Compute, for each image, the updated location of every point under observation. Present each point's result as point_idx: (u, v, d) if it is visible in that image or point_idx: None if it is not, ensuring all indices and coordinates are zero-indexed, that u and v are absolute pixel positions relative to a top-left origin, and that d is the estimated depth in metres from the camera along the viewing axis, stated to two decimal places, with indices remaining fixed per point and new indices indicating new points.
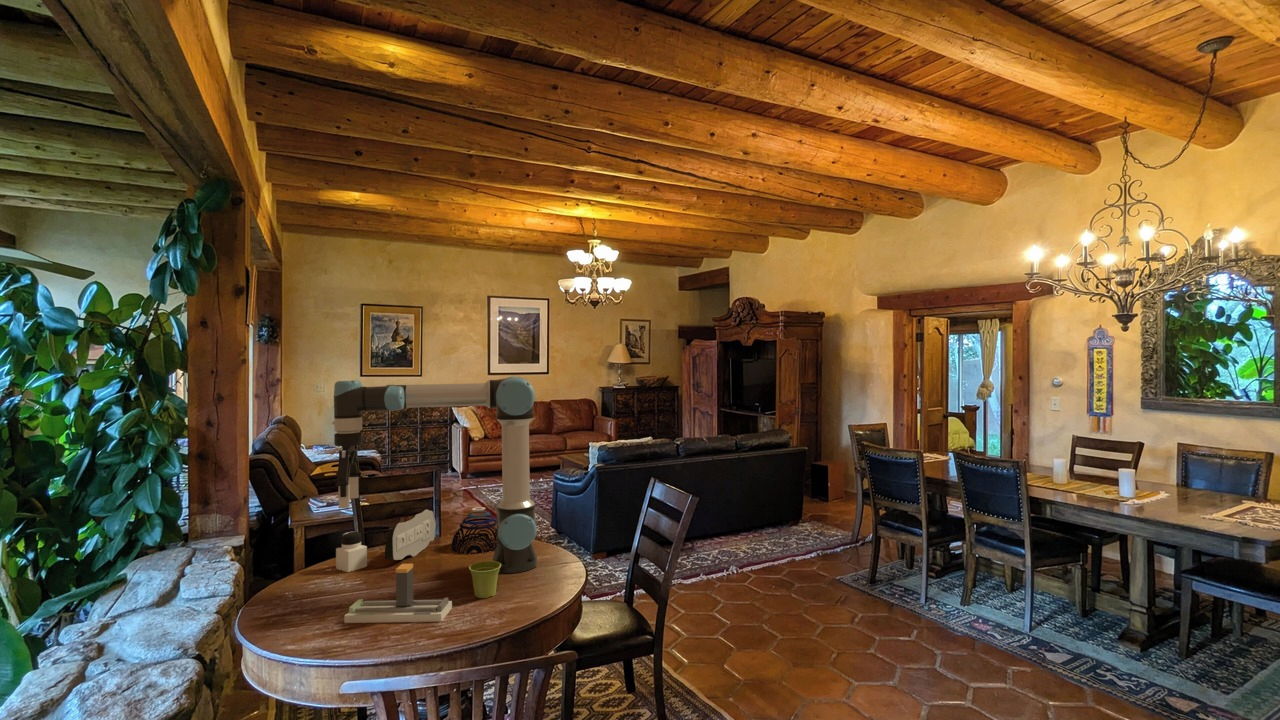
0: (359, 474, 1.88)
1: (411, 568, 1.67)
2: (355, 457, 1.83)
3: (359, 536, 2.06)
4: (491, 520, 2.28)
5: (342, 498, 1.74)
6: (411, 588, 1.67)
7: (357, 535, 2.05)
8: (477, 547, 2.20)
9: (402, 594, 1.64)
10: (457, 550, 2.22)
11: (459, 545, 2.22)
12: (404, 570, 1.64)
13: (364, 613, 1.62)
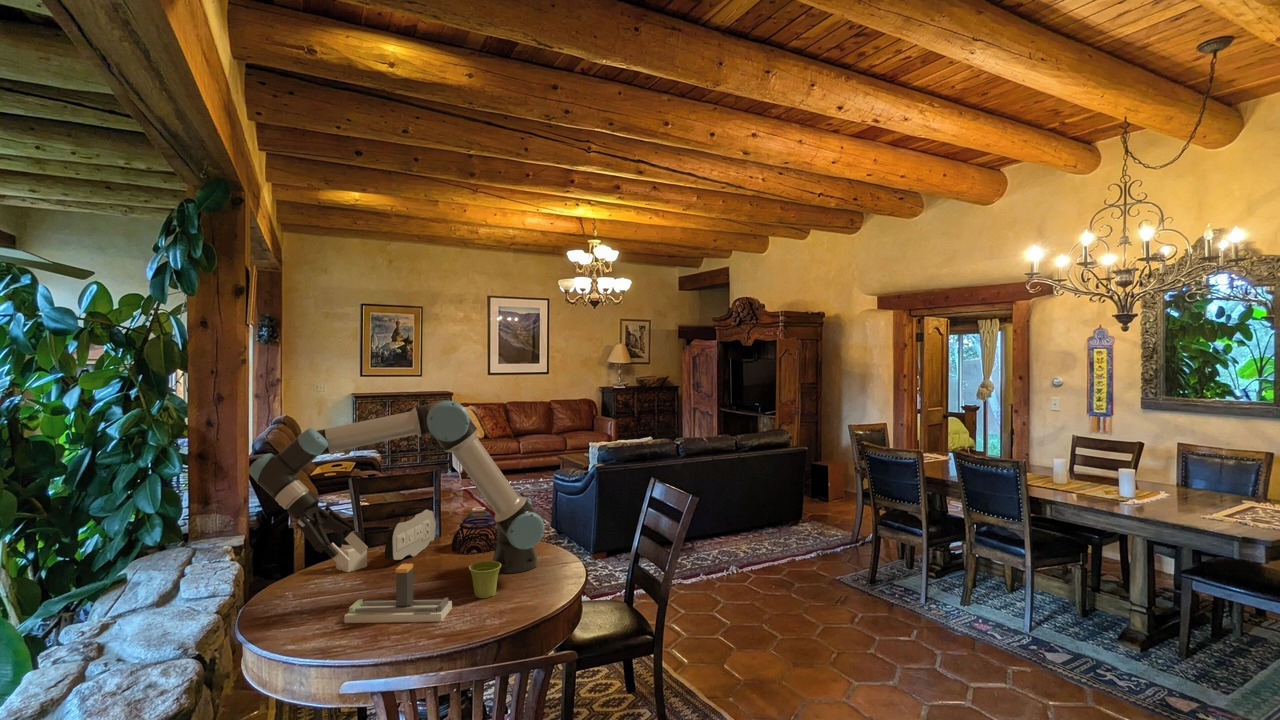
0: (352, 528, 1.72)
1: (411, 568, 1.67)
2: (326, 515, 1.68)
3: (359, 536, 2.06)
4: (491, 520, 2.28)
5: (336, 557, 1.60)
6: (411, 588, 1.67)
7: (357, 535, 2.05)
8: (477, 547, 2.20)
9: (402, 594, 1.64)
10: (457, 550, 2.22)
11: (459, 545, 2.21)
12: (404, 570, 1.64)
13: (364, 613, 1.62)
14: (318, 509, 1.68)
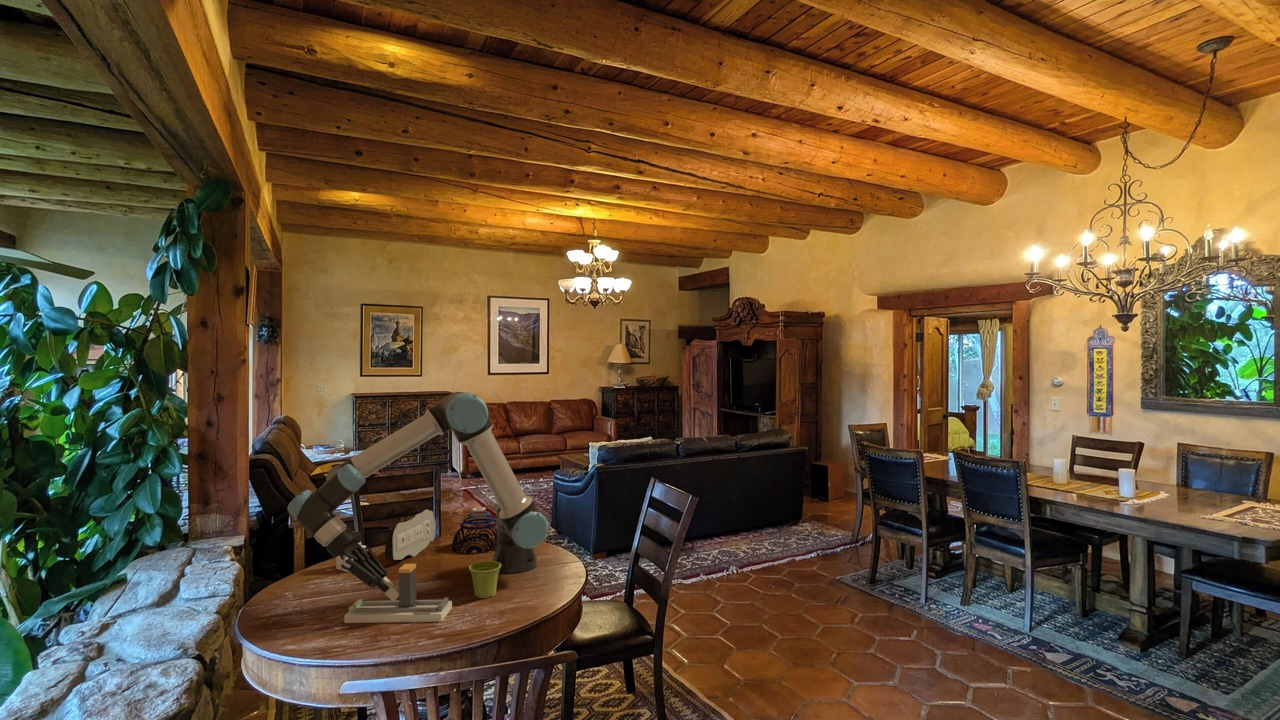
0: (384, 573, 1.67)
1: (414, 568, 1.67)
2: (362, 553, 1.67)
3: (359, 536, 2.06)
4: (491, 520, 2.28)
5: (388, 592, 1.65)
6: (414, 588, 1.67)
7: (357, 535, 2.06)
8: (477, 547, 2.20)
9: (405, 594, 1.64)
10: (457, 550, 2.21)
11: None
12: (407, 570, 1.64)
13: (364, 613, 1.62)
14: (356, 544, 1.68)
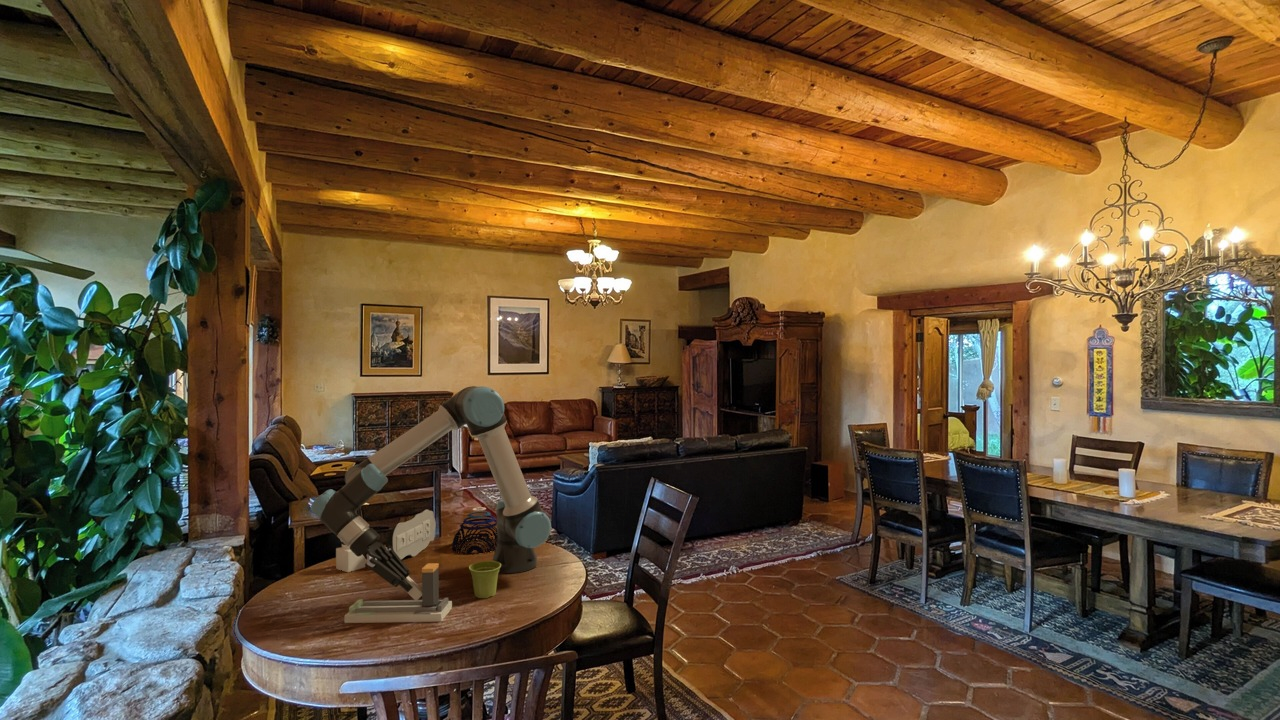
0: (407, 572, 1.67)
1: (437, 568, 1.67)
2: (385, 552, 1.67)
3: None
4: (492, 520, 2.28)
5: (411, 591, 1.65)
6: (437, 588, 1.67)
7: None
8: (478, 547, 2.20)
9: (428, 594, 1.64)
10: (458, 550, 2.21)
11: (460, 545, 2.21)
12: (430, 570, 1.64)
13: (364, 613, 1.62)
14: (378, 543, 1.69)
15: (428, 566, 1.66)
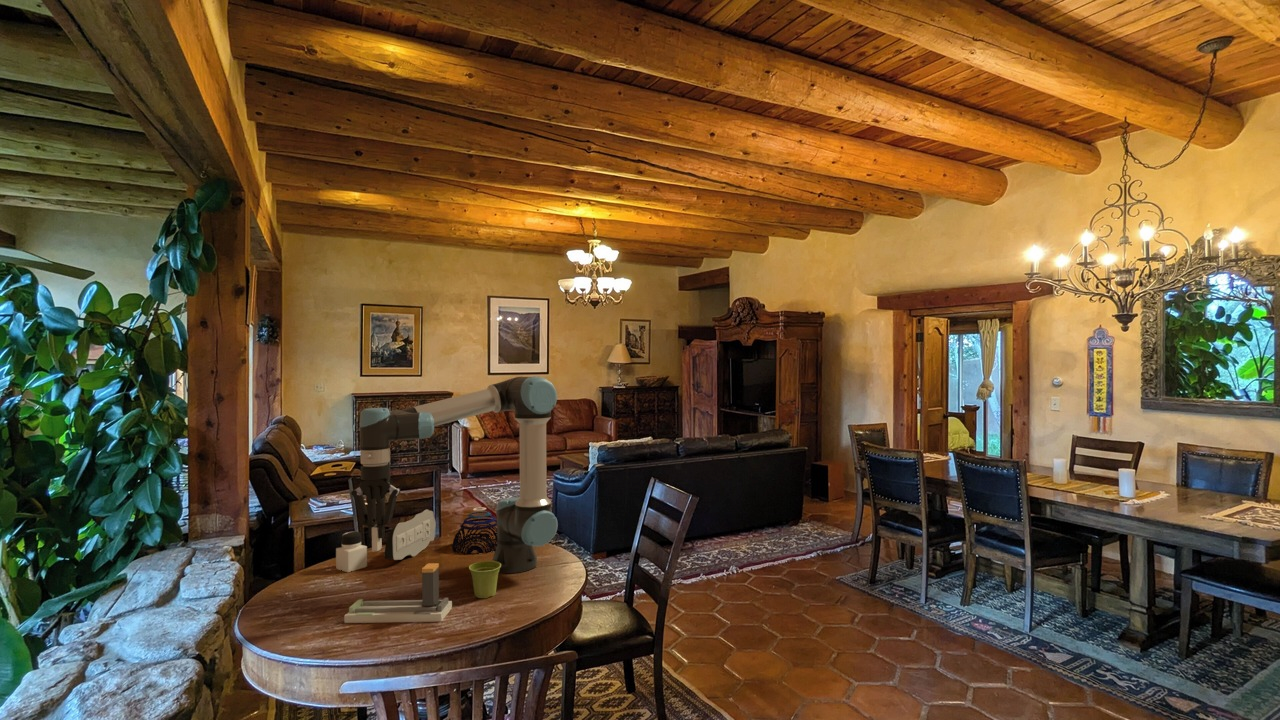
0: None
1: (437, 568, 1.67)
2: None
3: (359, 536, 2.06)
4: (492, 520, 2.28)
5: (378, 539, 1.66)
6: (437, 588, 1.67)
7: (357, 535, 2.05)
8: (478, 547, 2.20)
9: (429, 594, 1.64)
10: (458, 550, 2.21)
11: (460, 545, 2.21)
12: (430, 570, 1.64)
13: (364, 613, 1.62)
14: None
15: (428, 566, 1.66)
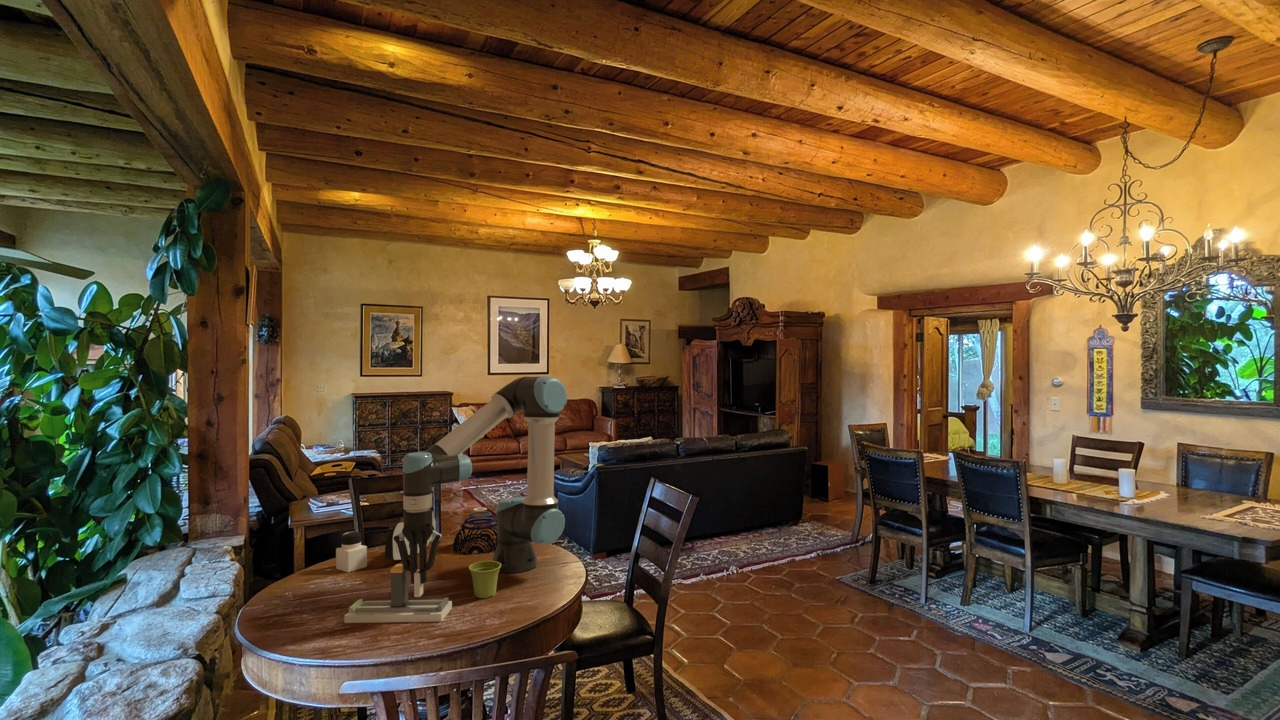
0: None
1: None
2: None
3: (359, 536, 2.06)
4: (493, 520, 2.28)
5: (421, 585, 1.66)
6: (406, 588, 1.67)
7: (357, 535, 2.05)
8: (478, 547, 2.20)
9: (397, 594, 1.64)
10: (458, 550, 2.21)
11: (460, 545, 2.21)
12: (398, 570, 1.64)
13: (364, 613, 1.62)
14: None
15: (397, 566, 1.66)
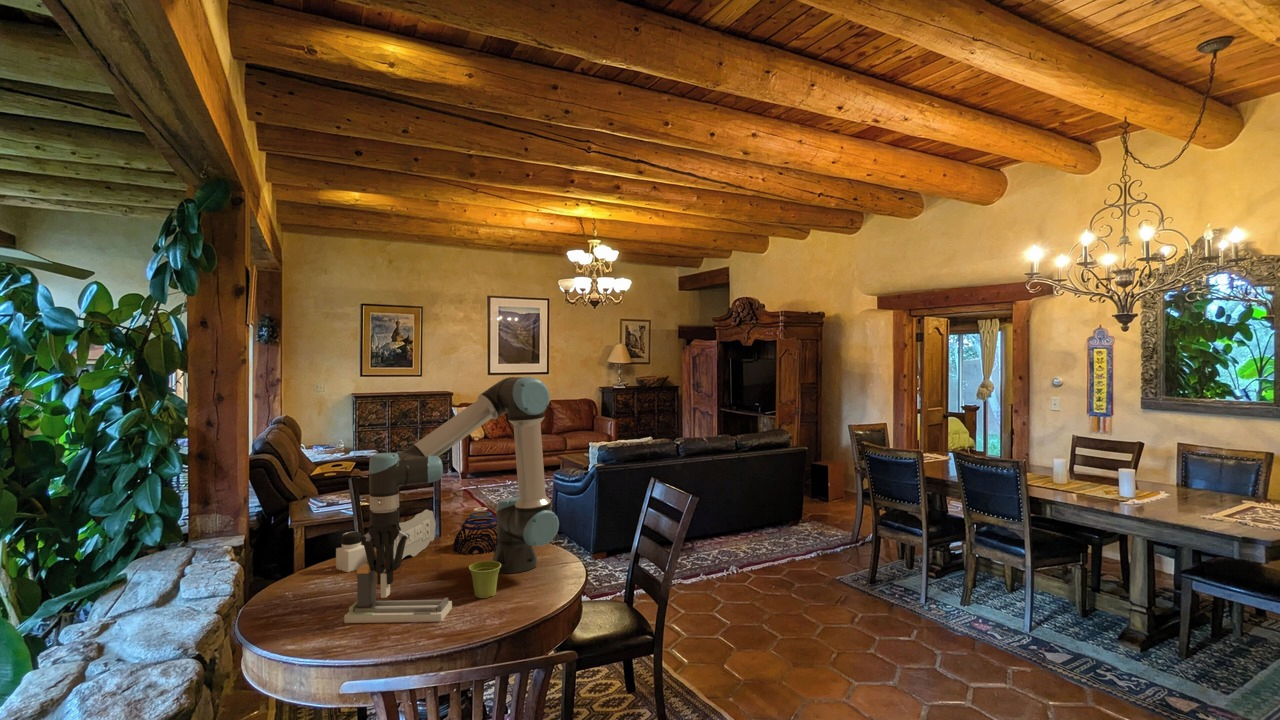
0: None
1: None
2: None
3: (359, 536, 2.06)
4: (493, 520, 2.28)
5: (387, 586, 1.66)
6: (373, 589, 1.67)
7: (357, 535, 2.05)
8: (479, 547, 2.20)
9: (364, 595, 1.64)
10: (459, 550, 2.21)
11: (461, 545, 2.21)
12: (365, 571, 1.64)
13: (364, 613, 1.62)
14: None
15: (364, 567, 1.66)
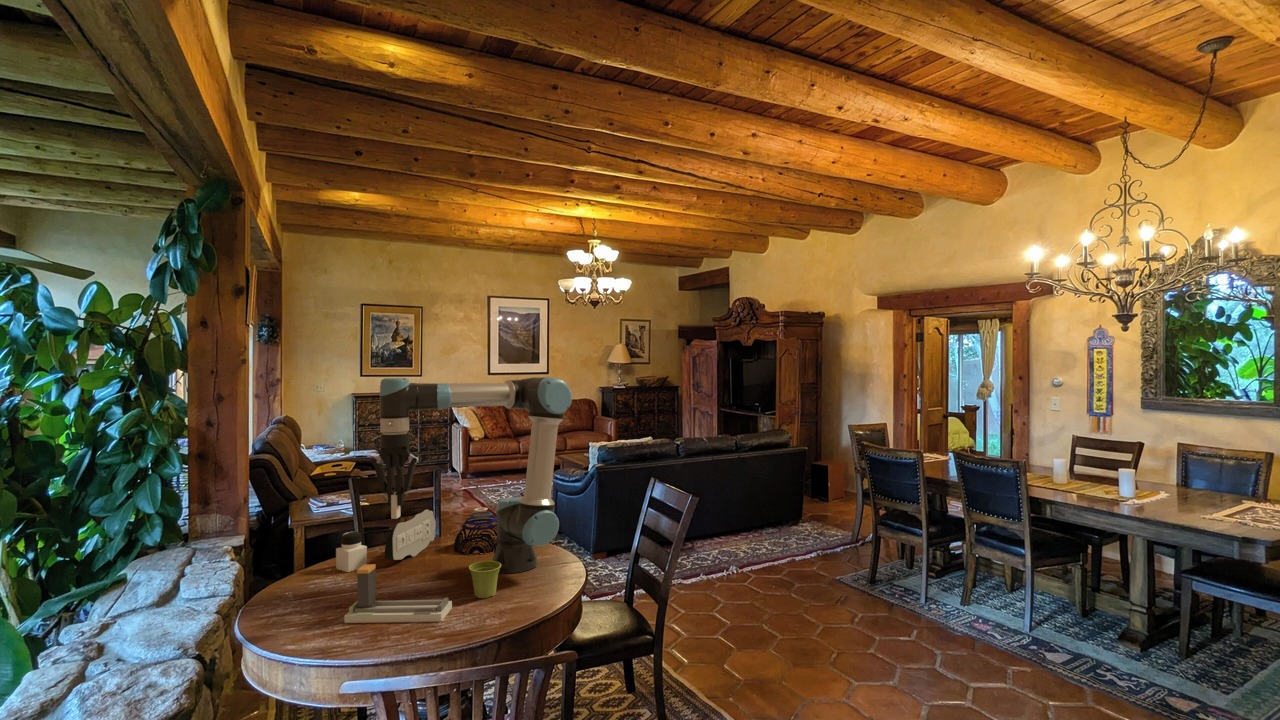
0: None
1: (373, 569, 1.67)
2: None
3: (359, 536, 2.06)
4: (493, 521, 2.27)
5: (398, 507, 1.68)
6: (373, 589, 1.67)
7: (357, 535, 2.05)
8: (479, 548, 2.19)
9: (364, 595, 1.64)
10: (459, 551, 2.21)
11: None
12: (365, 571, 1.64)
13: (364, 613, 1.62)
14: None
15: (364, 567, 1.66)
